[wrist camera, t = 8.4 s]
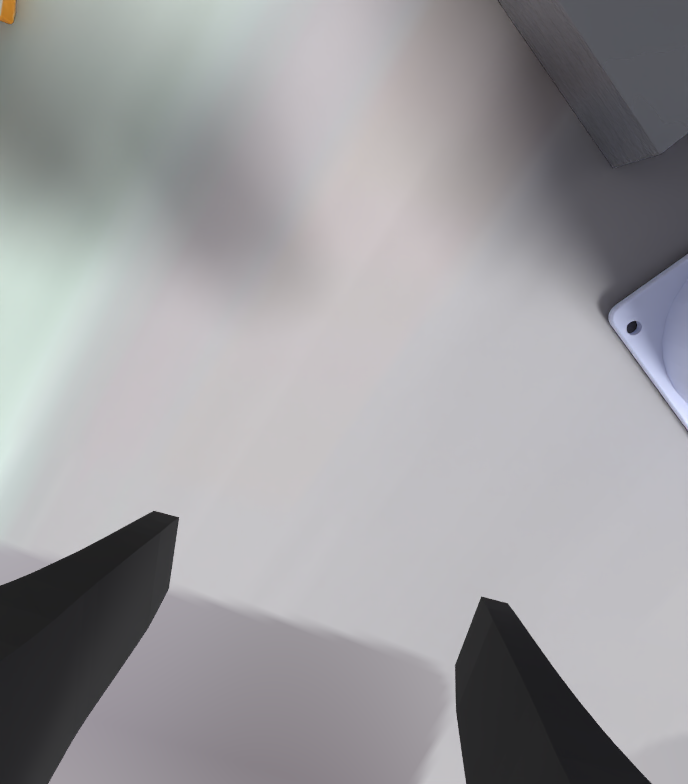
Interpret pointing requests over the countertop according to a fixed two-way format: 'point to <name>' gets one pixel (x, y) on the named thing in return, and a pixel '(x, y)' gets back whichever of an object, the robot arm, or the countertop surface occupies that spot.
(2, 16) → the supplement box
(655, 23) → the grey peg hole board
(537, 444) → the countertop surface
